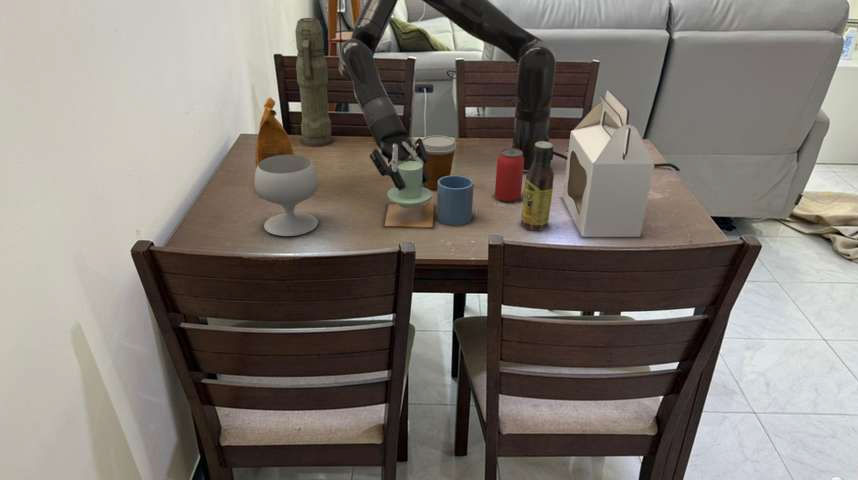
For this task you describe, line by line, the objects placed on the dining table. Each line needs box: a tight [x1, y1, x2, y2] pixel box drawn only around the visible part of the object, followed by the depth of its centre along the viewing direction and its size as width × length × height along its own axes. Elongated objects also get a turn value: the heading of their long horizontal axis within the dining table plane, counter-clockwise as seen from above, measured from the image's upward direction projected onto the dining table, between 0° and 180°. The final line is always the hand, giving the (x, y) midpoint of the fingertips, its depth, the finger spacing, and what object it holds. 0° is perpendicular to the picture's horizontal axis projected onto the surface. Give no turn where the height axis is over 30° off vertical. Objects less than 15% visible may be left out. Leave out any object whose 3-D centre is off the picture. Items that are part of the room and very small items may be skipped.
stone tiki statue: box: [294, 17, 332, 147], centre depth 195 cm, size 9×12×35 cm
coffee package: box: [254, 97, 295, 169], centre depth 168 cm, size 10×12×22 cm
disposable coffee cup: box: [421, 134, 457, 190], centre depth 173 cm, size 10×10×12 cm
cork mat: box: [384, 203, 435, 229], centre depth 159 cm, size 11×12×1 cm
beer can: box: [494, 147, 524, 203], centre depth 166 cm, size 7×7×12 cm
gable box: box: [562, 90, 656, 238], centre depth 153 cm, size 22×13×28 cm, turn 1°
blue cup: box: [436, 174, 474, 226], centre depth 157 cm, size 8×8×9 cm
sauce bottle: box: [520, 141, 555, 231], centre depth 150 cm, size 7×6×20 cm
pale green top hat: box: [386, 161, 433, 208], centre depth 155 cm, size 10×10×10 cm
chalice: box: [253, 154, 319, 237], centre depth 151 cm, size 14×14×15 cm
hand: (413, 185), depth 154 cm, fingers closed on pale green top hat, 6 cm apart
